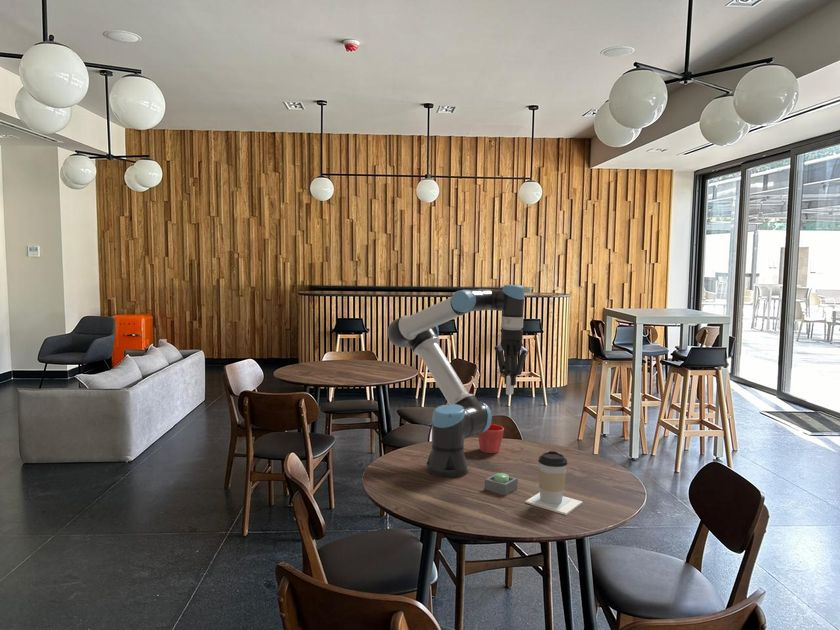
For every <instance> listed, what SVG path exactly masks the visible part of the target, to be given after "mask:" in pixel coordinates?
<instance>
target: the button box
mask: <svg viewBox="0 0 840 630" xmlns="http://www.w3.org/2000/svg"><path fill="white" fill-rule="evenodd" d="M518 481H519V479H518V478H517V477H513V476H509V481H508V482H506V483H501V482H498V481H494V474H492V475H490V476H488V477H486V478H484V490H486V491H488V492H489V491H490V492H493V493H496V494H499V495H503V496H507V495H508V494H511V493H512V492H513V491H516V490H518Z"/></svg>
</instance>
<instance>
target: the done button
mask: <svg viewBox="0 0 840 630" xmlns="http://www.w3.org/2000/svg"><path fill="white" fill-rule="evenodd" d="M493 475H494V481H498V482H501V483H506V482H508V481H509V474H508V473H504V472H496V473H494V474H493Z"/></svg>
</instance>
